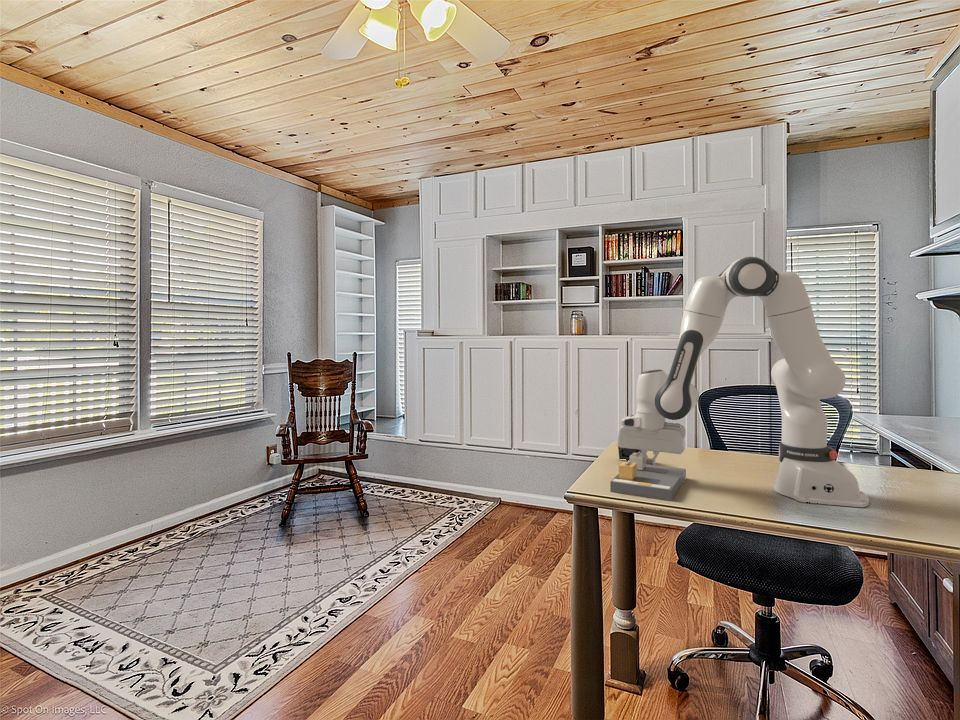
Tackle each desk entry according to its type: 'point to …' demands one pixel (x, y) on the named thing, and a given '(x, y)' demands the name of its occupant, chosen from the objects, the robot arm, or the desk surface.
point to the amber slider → (627, 470)
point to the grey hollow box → (626, 452)
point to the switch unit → (651, 482)
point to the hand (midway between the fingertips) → (650, 464)
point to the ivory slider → (638, 460)
